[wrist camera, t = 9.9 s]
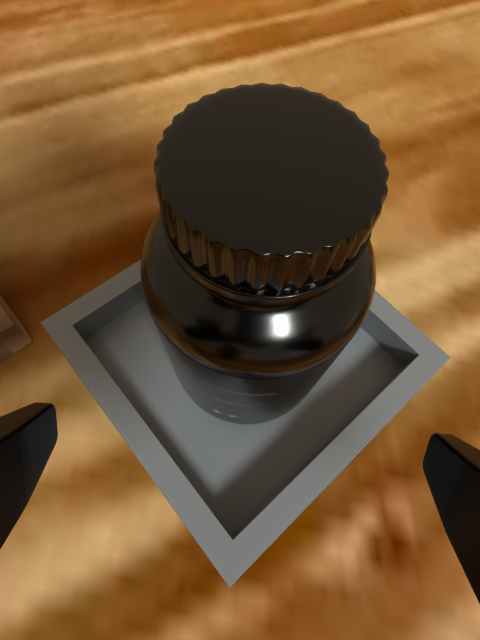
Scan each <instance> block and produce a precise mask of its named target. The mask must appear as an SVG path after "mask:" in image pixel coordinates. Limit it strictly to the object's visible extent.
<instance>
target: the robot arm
mask: <svg viewBox="0 0 480 640" xmlns="http://www.w3.org/2000/svg"><path fill="white" fill-rule="evenodd" d="M57 436H58V431H57V420H56V410H55V407H54V405H53V404H50V403H38V402H37V403H33V404H30V405H28V406H26V407H23V408H21V409H18V410H16V411H14V412H11V413H9V414H7V415H4V416H2V417H0V549H1V547H2V546H3V544H4V542H5V541H6V539H7V537H8V536H9V534H10V532H11V531H12V529H13V527H14V526H15V524H16V522H17V521H18V519H19V517H20V516H21V514H22V512H23V510H24V509H25V507H26V505H27V503H28V502H29V500H30V498H31V496H32V494H33V491H34V489H35V487H36V485H37V483H38V481H39V479H40V476H41V474H42V472H43V470H44V468H45V466H46V464H47V461H48V459H49V457H50V455H51V453H52V451H53V449H54V446H55V444H56V441H57ZM423 470H424V473H425V476H426V479H427V482H428V485H429V487H430V490H431V493H432V496H433V498H434V501H435V504H436V507H437V509H438V512H439V515H440V518H441V521H442V523H443V526H444V528H445V531H446V533H447V536H448V538H449V540H450V542H451V544H452V547H453V549H454V551H455V553H456V555H457V557H458V559H459V561H460V563H461V565H462V568H463V570H464V572H465V574H466V576H467V578H468V580H469V582H470V584H471V587H472V589H473V591H474V593H475V595H476V597H477V599H478V601H479V603H480V450H479V449H477V448H475V447H473V446H471V445H470V444H468V443H466V442H464V441H462V440H461V439H459V438H457V437H455V436H454V435H451V434H443V433H434V434H432V435H431V437H430V439H429V443H428V446H427V450H426V453H425V456H424V460H423Z"/></svg>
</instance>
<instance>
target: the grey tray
mask: <svg viewBox="0 0 480 640" xmlns="http://www.w3.org/2000/svg"><path fill="white" fill-rule="evenodd" d="M140 264H141V259H140V260H139V261H137V262H136V263H134V264H132V265H131V266H129V267H128V268H126V269H125V270H123V271H121V272H120V273H118V274H117V275H115V276H113V277H112V278H110V279H109V280H107V281H105V282H104V283H102V284H101V285H99V286H97V287H96V288H94V289H93V290H91V291H90V292H88V293H86V294H85V295H83V296H82V297H80V298H78V299H77V300H75V301H74V302H72V303H70V304H69V305H67V306H66V307H64V308H62V309H61V310H59V311H58V312H56V313H55V314H53V315H51V316H50V317H48V318H47V319H45V320H43V321H42V322H40V323H41V324H42V326H43V327H44V328H45V330H46V331H47V333H48V334H49V335H50V337H51V338H52V340H53V341H54V342H55V344H56V345H57V347H58V348H59V349H60V351H61V352H62V354H63V355H64V356H65V358H66V359H67V361H68V362H69V363H70V365H71V366H72V368H73V369H74V370H75V372H76V373H77V375H78V376H79V377H80V379H81V380H82V382H83V383H84V384H85V386H86V387H87V389H88V390H89V391H90V393H91V394H92V396H93V397H94V398H95V400H96V401H97V403H98V404H99V405H100V407H101V408H102V410H103V411H104V412H105V414H106V415H107V417H108V418H109V419H110V421H111V422H112V424H113V425H114V426H115V428H116V429H117V431H118V432H119V433H120V435H121V436H122V438H123V439H124V440H125V442H126V443H127V445H128V446H129V447H130V449H131V450H132V452H133V453H134V454H135V456H136V457H137V459H138V460H139V461H140V463H141V464H142V466H143V467H144V468H145V470H146V471H147V473H148V474H149V475H150V477H151V478H152V480H153V481H154V482H155V484H156V485H157V487H158V488H159V489H160V491H161V492H162V494H163V495H164V496H165V498H166V499H167V501H168V502H169V503H170V505H171V506H172V508H173V509H174V510H175V512H176V513H177V515H178V516H179V517H180V519H181V520H182V522H183V523H184V524H185V526H186V527H187V529H188V530H189V531H190V533H191V534H192V536H193V537H194V538H195V540H196V541H197V543H198V544H199V545H200V547H201V548H202V550H203V551H204V552H205V554H206V555H207V557H208V558H209V559H210V561H211V562H212V564H213V565H214V566H215V568H216V569H217V571H218V572H219V573H220V575H221V576H222V578H223V579H224V580H225V582H226V583H227V585H228V586H229V587H231V586H232V585H233V584H234V583H235V581H236V580H237V579H238V578H239V577H240V576H241V575H242V574H243V573H244V572H245V571H246V570H247V569H248V568H249V567H250V566H251V565H252V564H253V563H254V562H255V561H256V560H257V559H258V558H259V556H260V555H261V554H262V553H263V552H264V551H265V550H266V549H267V548H268V547H269V546H270V545H271V544H272V543H273V542H274V541H275V540H276V539H277V538H278V537H279V536H280V535H281V534H282V533H283V531H284V530H285V529H286V528H287V527H288V526H289V525H290V524H291V523H292V522H293V521H294V520H295V519H296V518H297V517H298V516H299V515H300V514H301V513H302V512H303V511H304V510H305V509H306V508H307V506H308V505H309V504H310V503H311V502H312V501H313V500H314V499H315V498H316V497H317V496H318V495H319V494H320V493H321V492H322V491H323V490H324V489H325V488H326V487H327V486H328V485H329V484H330V483H331V481H332V480H333V479H334V478H335V477H336V476H337V475H338V474H339V473H340V472H341V471H342V470H343V469H344V468H345V467H346V466H347V465H348V464H349V463H350V462H351V461H352V460H353V459H354V457H355V456H356V455H357V454H358V453H359V452H360V451H361V450H362V449H363V448H364V447H365V446H366V445H367V444H368V443H369V442H370V441H371V440H372V439H373V438H374V437H375V436H376V435H377V434H378V432H379V431H380V430H381V429H382V428H383V427H384V426H385V425H386V424H387V423H388V422H389V421H390V420H391V419H392V418H393V417H394V416H395V415H396V414H397V413H398V412H399V411H400V410H401V409H402V407H403V406H404V405H405V404H406V403H407V402H408V401H409V400H410V399H411V398H412V397H413V396H414V395H415V394H416V393H417V392H418V391H419V390H420V389H421V388H422V387H423V386H424V385H425V384H426V382H427V381H428V380H429V379H430V378H431V377H432V376H433V375H434V374H435V373H436V372H437V371H438V370H439V369H440V368H441V367H442V366H443V365H444V364H445V363H446V362H447V361H448V360H449V359H450V357H449V356H448V355H447V354H446V353H445V352H444V351H443V350H441V349H440V348H439V347H438V346H437V345H436V344H435V343H434V342H432V341H431V340H430V339H429V338H428V337H427V336H426V335H425V334H423V333H422V332H421V331H420V330H419V329H418V328H417V327H416V326H414V325H413V324H412V323H411V322H410V321H409V320H408V319H407V318H405V317H404V316H403V315H402V314H401V313H400V312H399V311H398V310H396V309H395V308H394V307H393V306H392V305H391V304H390V303H389V302H388V301H386V300H385V299H384V298H383V297H382V296H381V295H380V294H379V293H377V292H376V291H375V292H374V296H373V300H372V303H371V306H370V309H369V311H368V314H367V315H366V317H365V319H364V321H363V323H362V324H361V326H360V328H359V329H358V331H357V332H356V334H355V335H354V336H353V338H352V339H351V341H350V342H349V343H348V344H347V346H346V347H345V348H344V349H343V351H342V352H341V353H340V354H339V356H338V357H337V358H336V359H335V361H334V362H333V363H332V364H331V366H330V367H329V368H328V369H327V371H326V372H325V373H324V374H323V376H322V377H321V378H320V379H319V381H318V382H317V383H316V384H315V386H314V387H313V388H312V389H311V391H310V392H309V393H308V394H307V395H306V397H305V398H304V399H303V400H302V401H301V402H300V403H299V404H298V405H297V406H296V407H295V408H293V409H292V410H291V411H289V412H288V413H286V414H284V415H283V416H281V417H279V418H276V419H274V420H271V421H268V422H264V423H259V424H236V423H230V422H227V421H223V420H221V419H218V418H216V417H214V416H212V415H210V414H208V413H207V412H205V411H204V410H203V409H201V408H200V407H199V406H198V405H197V404H196V403H195V402H194V401H193V400H192V399H191V398H190V397H189V395H188V394H187V393H186V391H185V390H184V388H183V387H182V385H181V383H180V381H179V379H178V377H177V375H176V372H175V370H174V368H173V365H172V363H171V360H170V358H169V356H168V353H167V351H166V349H165V346H164V344H163V342H162V339H161V337H160V335H159V332H158V330H157V328H156V325H155V323H154V321H153V318H152V316H151V313H150V311H149V308H148V306H147V303H146V299H145V296H144V292H143V288H142V282H141V272H140Z"/></svg>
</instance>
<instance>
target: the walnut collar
mask: <svg viewBox="0 0 480 640" xmlns="http://www.w3.org/2000/svg"><path fill="white" fill-rule="evenodd" d="M32 341H33V340H32V339H31V337H30V336H29V334H28V333H27V332H26V330H25V329H24V327H23V326H22V324H21V323H20V321H19V320H18V319H17V317H16V316H15V314H14V313H13V311H12V310H11V308H10V307H9V306H8V304H7V303H6V301H5V300H4V298H3V297H2V295H1V294H0V362H1V361H3V360H4V359H6V358H7V357H9V356H11V355H12V354H14V353H15V352H17V351H18V350H20V349H22V348H23V347H25V346H26V345H28V344H29V343H31V342H32Z"/></svg>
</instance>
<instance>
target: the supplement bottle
mask: <svg viewBox="0 0 480 640" xmlns="http://www.w3.org/2000/svg"><path fill="white" fill-rule="evenodd" d="M379 145H380V142H379V139H378V138H377V137H376V136H374V135H373V134H372V133H371V131H370V128H369V125H367V124H366V123H364V122H363V121H361V120H360V119H359V118H358V116H357V115H356V113H355V112H353V111H351V110H348V109H346V108H344V107H343V106H342V104H341V103H339V102H338V101H334V100H331V99H328V98H327V97H325V96H324V95H323V94H321V93H316V92H310V91H308V90H306V89H304V88H302V87H290V86H287V85H284V84H274V85H270V84H265V83H259V84H254V85H239V86H236V87H234V88H226V89H221V90H219V91H218V92H216V93H214V94H210V95H205V96H203V97H202V98H201V99H200V100H199V101H197V102H194V103H191V104H188V105H187V106H186V108H185V109H184V111H183V112H181V113H179V114H177V115H176V116H174V118H173V120H172V124H171V125H169V126H168V127H167V128H166V129H165V130H164V132H163V139H162V140H161V141H160V142H159V144H158V145H157V157H156V159H155V162H154V173H155V177H156V191H157V196H158V200H159V204H160V211H159V212H158V214H157V215H156V217H155V219H154V220H153V222H152V224H151V226H150V228H149V230H148V233H147V235H146V238H145V241H144V245H143V249H142V254H141V264H140V272H141V282H142V288H143V292H144V296H145V299H146V303H147V306H148V308H149V311H150V313H151V316H152V318H153V321H154V323H155V325H156V328H157V330H158V332H159V335H160V337H161V339H162V342H163V344H164V346H165V349H166V351H167V353H168V356H169V358H170V360H171V363H172V365H173V368H174V370H175V372H176V375H177V377H178V379H179V381H180V383H181V385H182V387H183V388H184V390H185V391H186V393H187V394H188V395H189V397H190V398H191V399H192V400H193V401H194V402H195V403H196V404H197V405H198V406H199V407H200V408H201V409H203V410H204V411H205V412H207V413H208V414H210V415H212V416H214V417H216V418H218V419H221V420H223V421H227V422H230V423H236V424H259V423H264V422H268V421H271V420H274V419H276V418H279V417H281V416H283V415H284V414H286V413H288V412H289V411H291V410H292V409H293V408H295V407H296V406H297V405H298V404H299V403H300V402H301V401H302V400H303V399H304V398H305V397H306V395H307V394H308V393H309V392H310V391H311V389H312V388H313V387H314V386H315V384H316V383H317V382H318V381H319V379H320V378H321V377H322V376H323V374H324V373H325V372H326V371H327V369H328V368H329V367H330V366H331V364H332V363H333V362H334V361H335V359H336V358H337V357H338V356H339V354H340V353H341V352H342V351H343V349H344V348H345V347H346V346H347V344H348V343H349V342H350V341H351V339H352V338H353V336H354V335H355V334H356V332H357V331H358V329H359V328H360V326H361V324H362V323H363V321H364V319H365V317H366V315H367V314H368V311H369V309H370V306H371V303H372V300H373V296H374V292H375V285H376V263H375V257H374V251H373V247H372V244H371V241H370V237H371V232H372V229H373V227H374V225H375V223H376V221H377V220H378V218H379V216H380V213H381V210H382V204H383V203H384V201H385V199H386V196H387V192H388V188H387V184H386V182H387V180H388V176H389V171H388V169H387V167H386V165H385V161H386V155H385V154H384V152H383V151H382V150H381V148H380V146H379Z"/></svg>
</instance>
